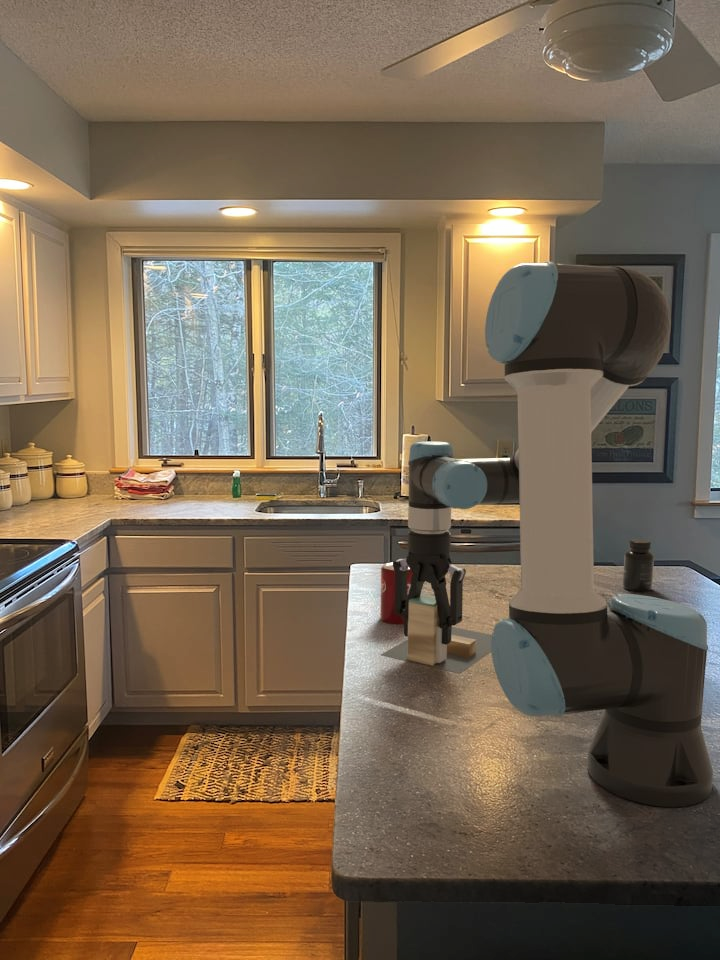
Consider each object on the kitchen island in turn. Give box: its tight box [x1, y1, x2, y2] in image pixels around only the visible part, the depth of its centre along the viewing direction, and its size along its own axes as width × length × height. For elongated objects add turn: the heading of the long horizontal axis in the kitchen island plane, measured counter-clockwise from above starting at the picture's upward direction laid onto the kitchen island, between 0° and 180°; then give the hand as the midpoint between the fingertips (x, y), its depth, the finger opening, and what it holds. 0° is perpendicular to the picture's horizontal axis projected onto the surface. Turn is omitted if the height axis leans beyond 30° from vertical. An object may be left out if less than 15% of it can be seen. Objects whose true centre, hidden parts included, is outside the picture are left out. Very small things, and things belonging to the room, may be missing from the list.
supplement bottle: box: [622, 538, 655, 593], centre depth 191 cm, size 7×7×12 cm
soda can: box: [379, 562, 413, 626], centre depth 163 cm, size 7×7×12 cm
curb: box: [447, 635, 476, 658], centre depth 146 cm, size 3×12×2 cm, turn 57°
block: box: [407, 593, 441, 666], centre depth 140 cm, size 5×5×11 cm
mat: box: [380, 626, 492, 674], centre depth 148 cm, size 22×16×1 cm
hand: (426, 657), depth 141 cm, fingers closed on block, 5 cm apart
